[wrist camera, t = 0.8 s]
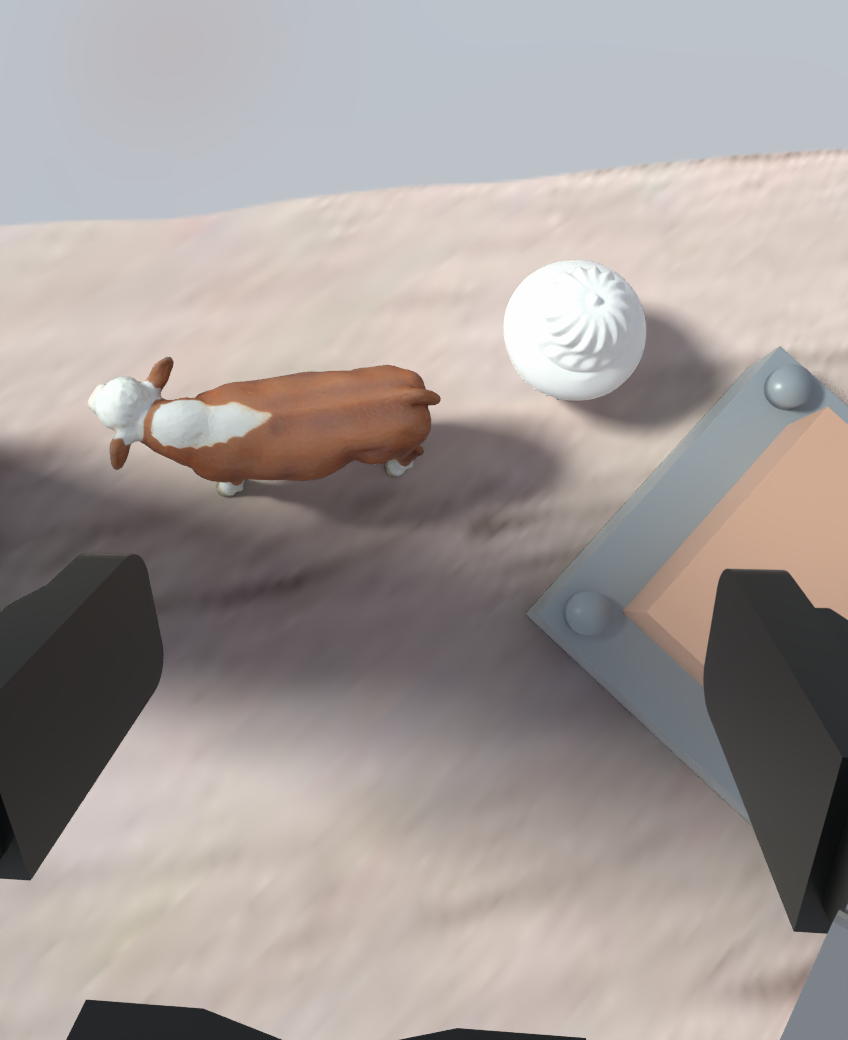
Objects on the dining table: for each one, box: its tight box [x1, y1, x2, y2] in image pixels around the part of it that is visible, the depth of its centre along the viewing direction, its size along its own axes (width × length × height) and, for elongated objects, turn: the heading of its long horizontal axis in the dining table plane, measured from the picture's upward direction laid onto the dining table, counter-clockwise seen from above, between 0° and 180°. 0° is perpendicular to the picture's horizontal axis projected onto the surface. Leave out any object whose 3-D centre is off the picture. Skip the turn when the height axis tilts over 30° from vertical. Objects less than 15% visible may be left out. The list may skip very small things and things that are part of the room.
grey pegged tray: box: [525, 346, 848, 827], centre depth 31 cm, size 16×16×6 cm
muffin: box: [504, 260, 646, 401], centre depth 32 cm, size 6×6×7 cm
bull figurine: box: [88, 357, 441, 497], centre depth 30 cm, size 4×13×8 cm, turn 93°
